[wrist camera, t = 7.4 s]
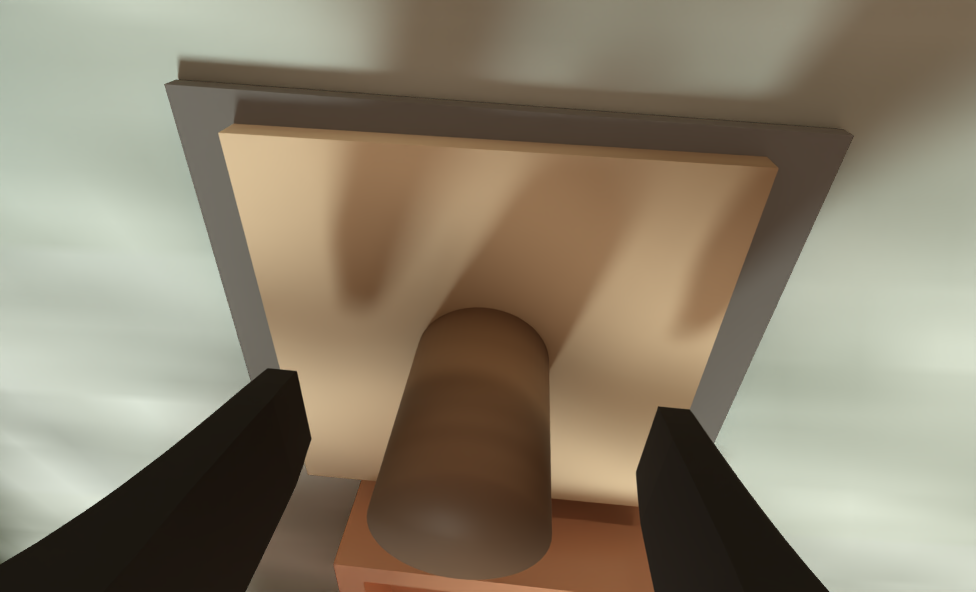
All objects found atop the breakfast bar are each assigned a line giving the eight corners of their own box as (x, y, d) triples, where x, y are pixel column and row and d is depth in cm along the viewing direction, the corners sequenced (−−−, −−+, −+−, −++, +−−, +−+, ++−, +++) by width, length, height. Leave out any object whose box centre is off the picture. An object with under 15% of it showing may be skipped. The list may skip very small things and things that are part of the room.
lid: (649, 490, 16) (688, 685, 12) (314, 458, 16) (237, 633, 12) (766, 156, 10) (929, 312, 6) (233, 123, 10) (28, 244, 6)
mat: (686, 485, 16) (689, 496, 16) (277, 442, 17) (271, 452, 16) (843, 129, 10) (853, 136, 9) (176, 80, 10) (164, 84, 10)
